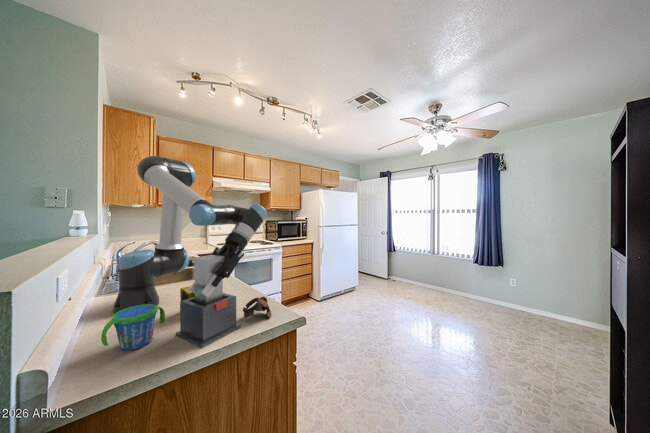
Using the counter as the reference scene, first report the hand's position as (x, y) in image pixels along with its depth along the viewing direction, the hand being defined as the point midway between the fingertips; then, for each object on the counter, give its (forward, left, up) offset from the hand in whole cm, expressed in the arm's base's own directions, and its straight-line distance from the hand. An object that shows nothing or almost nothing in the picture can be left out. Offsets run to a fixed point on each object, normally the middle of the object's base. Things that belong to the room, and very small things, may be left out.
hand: (198, 293), depth 74 cm
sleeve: (-2, +3, -14) cm, 14 cm away
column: (-2, +3, -13) cm, 13 cm away
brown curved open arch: (-9, +19, -14) cm, 26 cm away
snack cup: (-2, -17, -14) cm, 22 cm away
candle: (-21, -3, -14) cm, 26 cm away
